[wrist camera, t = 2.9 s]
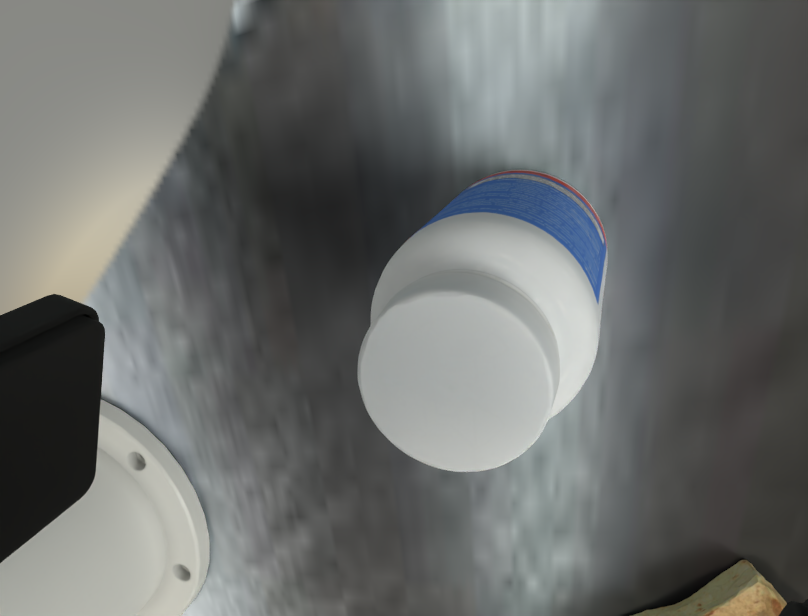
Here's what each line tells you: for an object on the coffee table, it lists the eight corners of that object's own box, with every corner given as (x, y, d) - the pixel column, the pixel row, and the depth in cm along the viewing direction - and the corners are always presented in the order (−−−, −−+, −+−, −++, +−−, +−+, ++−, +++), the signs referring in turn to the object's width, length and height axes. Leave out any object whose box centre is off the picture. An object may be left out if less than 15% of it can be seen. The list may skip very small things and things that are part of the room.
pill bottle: (433, 171, 22) (306, 247, 14) (608, 162, 21) (591, 241, 12) (446, 331, 24) (339, 489, 15) (608, 334, 22) (593, 513, 14)
